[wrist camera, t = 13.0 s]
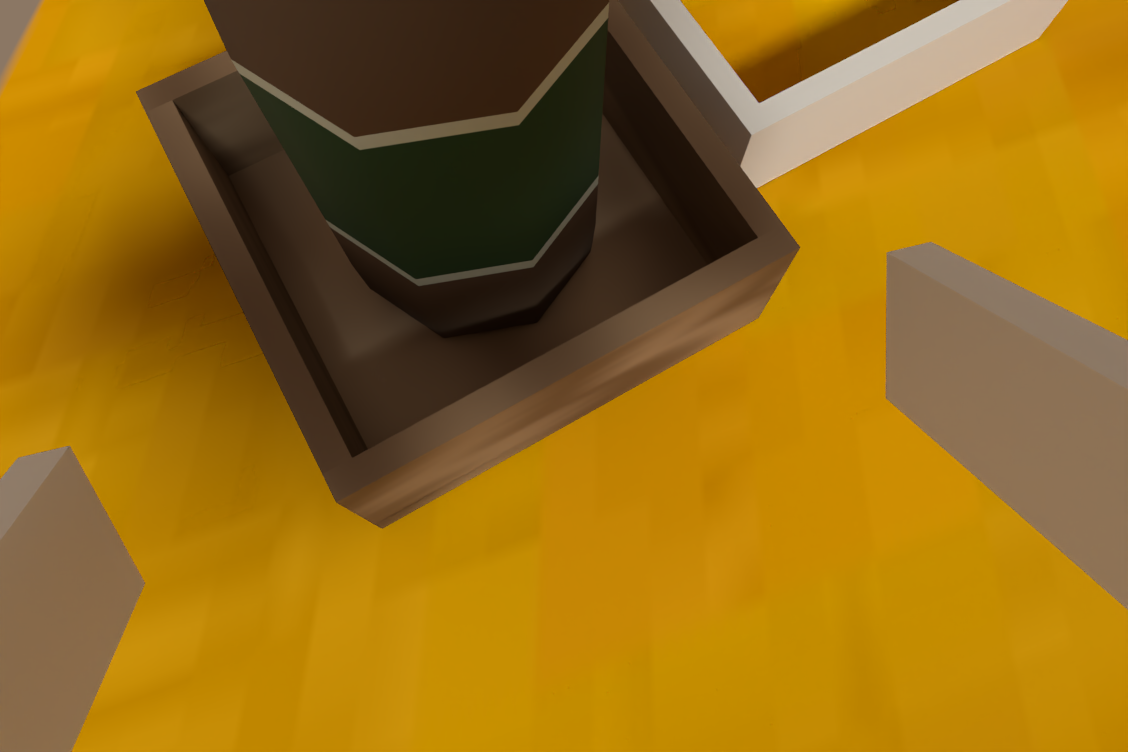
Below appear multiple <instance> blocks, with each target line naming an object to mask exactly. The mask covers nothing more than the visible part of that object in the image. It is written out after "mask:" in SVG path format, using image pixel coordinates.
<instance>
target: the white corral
mask: <svg viewBox="0 0 1128 752" xmlns="http://www.w3.org/2000/svg"><path fill="white" fill-rule="evenodd" d="M618 1H619V3H620V4H621V5H622V7H623V8H624V9H625V11H626V12H627V14H628V15H629V16H630V18H631V19H632V20H633V22H634V23H635V24H636V26H637V27H638V28H639V30H640V31H641V32H642V34H643V35H644V37H645V38H646V39H647V41H648V42H649V43H650V45H651V46H652V47H653V49H654V50H655V51H656V53H657V54H658V56H659V57H660V58H661V60H662V61H663V62H664V64H665V65H666V66H667V68H668V69H669V70H670V72H671V73H672V74H673V76H674V77H675V79H676V80H677V81H678V83H679V84H680V85H681V87H682V88H683V89H684V91H685V92H686V93H687V95H688V96H689V98H690V99H691V100H692V102H693V103H694V104H695V106H696V107H697V108H698V110H699V111H700V112H701V114H702V115H703V117H704V118H705V119H706V121H707V122H708V123H709V125H710V126H711V127H712V129H713V130H714V131H715V133H716V134H717V135H718V137H719V138H720V140H721V141H722V142H723V144H724V145H725V146H726V148H727V149H728V150H729V152H730V153H731V154H732V156H733V157H734V159H735V160H736V161H737V163H738V164H739V165H740V167H741V168H742V169H743V171H744V172H745V173H746V175H747V176H748V177H749V179H750V180H751V182H752V183H753V184H754V186H755V187H756V188H758V187H760V186H762V185H764V184H765V183H767V182H769V181H771V180H773V179H775V178H777V177H779V176H781V175H782V174H784V173H786V172H788V171H790V170H792V169H794V168H796V167H797V166H799V165H801V164H803V163H805V162H807V161H809V160H811V159H812V158H814V157H816V156H818V155H820V154H822V153H824V152H826V151H828V150H829V149H831V148H833V147H835V146H837V145H839V144H841V143H843V142H844V141H846V140H848V139H850V138H852V137H854V136H856V135H858V134H860V133H861V132H863V131H865V130H867V129H869V128H871V127H873V126H875V125H876V124H878V123H880V122H882V121H884V120H886V119H888V118H890V117H891V116H893V115H895V114H897V113H899V112H901V111H903V110H905V109H907V108H908V107H910V106H912V105H914V104H916V103H918V102H920V101H922V100H923V99H925V98H927V97H929V96H931V95H933V94H935V93H937V92H938V91H940V90H942V89H944V88H946V87H948V86H950V85H952V84H954V83H955V82H957V81H959V80H961V79H963V78H965V77H967V76H969V75H970V74H972V73H974V72H976V71H978V70H980V69H982V68H984V67H986V66H987V65H989V64H991V63H993V62H995V61H997V60H999V59H1001V58H1002V57H1004V56H1006V55H1008V54H1010V53H1012V52H1014V51H1016V50H1017V49H1019V48H1021V47H1023V46H1025V45H1027V44H1029V43H1031V42H1033V41H1034V40H1036V39H1038V38H1039V37H1040V36H1041V34H1042V33H1043V32H1044V30H1045V29H1046V28H1047V27H1048V25H1049V24H1050V23H1051V21H1052V20H1053V19H1054V18H1055V16H1056V15H1057V14H1058V13H1059V11H1060V10H1061V9H1062V7H1063V6H1064V5H1065V4H1066V2H1067V1H1068V0H959V1H957V2H956V3H954V4H952V5H950V6H948V7H946V8H944V9H942V10H940V11H938V12H936V13H934V14H932V15H930V16H928V17H926V18H924V19H922V20H920V21H919V22H917V23H915V24H913V25H911V26H909V27H907V28H905V29H903V30H901V31H899V32H897V33H895V34H893V35H891V36H889V37H887V38H885V39H883V40H881V41H880V42H878V43H876V44H874V45H872V46H870V47H868V48H866V49H864V50H862V51H860V52H858V53H856V54H854V55H852V56H850V57H848V58H846V59H844V60H843V61H841V62H839V63H837V64H835V65H833V66H831V67H829V68H827V69H825V70H823V71H821V72H819V73H817V74H815V75H813V76H811V77H809V78H807V79H806V80H804V81H802V82H800V83H798V84H796V85H794V86H792V87H790V88H788V89H786V90H784V91H782V92H780V93H778V94H776V95H774V96H772V97H770V98H769V99H767V100H765V101H763V102H761V103H758V101H757V100H756V99H755V98H754V96H753V95H752V94H751V92H750V91H749V90H748V88H747V87H746V86H745V85H744V83H743V82H742V81H741V79H740V78H739V77H738V75H737V74H736V73H735V72H734V70H733V69H732V68H731V66H730V65H729V64H728V62H727V61H726V60H725V58H724V57H723V56H722V55H721V53H720V52H719V51H718V49H717V48H716V47H715V45H714V44H713V43H712V42H711V40H710V39H709V38H708V36H707V35H706V34H705V32H704V31H703V30H702V29H701V27H700V26H699V25H698V23H697V22H696V21H695V19H694V18H693V17H692V15H691V14H690V13H689V12H688V10H687V9H686V8H685V6H684V5H683V4H682V2H681V1H680V0H618Z"/></svg>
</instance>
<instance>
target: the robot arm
mask: <svg viewBox="0 0 1128 752" xmlns="http://www.w3.org/2000/svg"><path fill="white" fill-rule="evenodd" d="M886 399H888V400H889V401H890V402H891V403H892V404H893V405H894V406H896V407H897V408H898V409H899V410H900V411H901V412H902V413H904V414H905V415H906V416H907V417H908V418H909V419H911V420H912V421H913V422H914V423H915V424H916V425H917V426H919V427H920V428H921V429H922V430H923V431H924V432H925V433H927V434H928V435H929V436H930V437H931V438H932V439H933V440H935V441H936V442H937V443H938V444H939V445H940V446H941V447H943V448H944V449H945V450H946V451H947V452H948V453H949V454H951V455H952V456H953V457H954V458H955V459H956V460H957V461H959V462H960V463H961V464H962V465H963V466H964V467H965V468H967V469H968V470H969V471H970V472H971V473H972V474H973V475H975V476H976V477H977V478H978V479H979V480H980V481H981V482H983V483H984V484H985V485H986V486H987V487H988V488H989V489H991V490H992V491H993V492H994V493H995V494H996V495H997V496H999V497H1000V498H1001V499H1002V500H1003V501H1004V502H1005V503H1007V504H1008V505H1009V506H1010V507H1011V508H1012V509H1013V510H1015V511H1016V512H1017V513H1018V514H1019V515H1020V516H1021V517H1023V518H1024V519H1025V520H1026V521H1027V522H1028V523H1029V524H1031V525H1032V526H1033V527H1034V528H1035V529H1036V530H1037V531H1039V532H1040V533H1041V534H1042V535H1043V536H1044V537H1045V538H1047V539H1048V540H1049V541H1050V542H1051V543H1052V544H1053V545H1055V546H1056V547H1057V548H1058V549H1059V550H1060V551H1061V552H1063V553H1064V554H1065V555H1066V556H1067V557H1068V558H1069V559H1071V560H1072V561H1073V562H1074V563H1075V564H1076V565H1077V566H1079V567H1080V568H1081V569H1082V570H1083V571H1084V572H1085V573H1087V574H1088V575H1089V576H1090V577H1091V578H1092V579H1093V580H1095V581H1096V582H1097V583H1098V584H1099V585H1100V586H1101V587H1103V588H1104V589H1105V590H1106V591H1107V592H1108V593H1109V594H1111V595H1112V596H1113V597H1114V598H1115V599H1116V600H1117V601H1119V602H1120V603H1121V604H1122V605H1123V606H1124V607H1125V608H1127V609H1128V340H1126V339H1124V338H1122V337H1120V336H1118V335H1116V334H1114V333H1112V332H1110V331H1108V330H1106V329H1104V328H1102V327H1100V326H1098V325H1096V324H1094V323H1092V322H1090V321H1088V320H1086V319H1084V318H1082V317H1080V316H1078V315H1076V314H1074V313H1072V312H1070V311H1068V310H1066V309H1064V308H1062V307H1060V306H1058V305H1056V304H1054V303H1052V302H1050V301H1048V300H1046V299H1044V298H1042V297H1040V296H1038V295H1036V294H1034V293H1032V292H1030V291H1028V290H1026V289H1024V288H1022V287H1020V286H1018V285H1016V284H1014V283H1012V282H1010V281H1008V280H1006V279H1004V278H1002V277H1000V276H998V275H996V274H994V273H992V272H990V271H988V270H986V269H984V268H982V267H980V266H978V265H976V264H974V263H972V262H970V261H968V260H966V259H964V258H962V257H960V256H958V255H956V254H954V253H952V252H950V251H948V250H946V249H944V248H942V247H940V246H938V245H936V244H934V243H932V242H929V243H925V244H921V245H916V246H912V247H908V248H904V249H899V250H895V251H891V252H887V308H886ZM144 584H145V582H144V580H143V579H142V577H141V575H140V573H139V571H138V569H137V568H136V566H135V564H134V562H133V560H132V559H131V557H130V555H129V553H128V551H127V549H126V548H125V546H124V544H123V542H122V540H121V538H120V537H119V535H118V533H117V531H116V529H115V528H114V526H113V524H112V522H111V520H110V518H109V517H108V515H107V513H106V511H105V509H104V507H103V506H102V504H101V502H100V500H99V498H98V497H97V495H96V493H95V491H94V489H93V487H92V486H91V484H90V482H89V480H88V478H87V476H86V475H85V473H84V471H83V469H82V467H81V466H80V464H79V462H78V460H77V458H76V456H75V455H74V453H73V451H72V449H71V447H70V446H66V447H62V448H58V449H54V450H49V451H45V452H41V453H37V454H33V455H28V456H24V457H20V458H18V459H17V460H16V461H15V462H14V463H13V465H12V466H11V467H10V468H9V470H8V471H7V472H6V473H5V474H4V476H3V477H2V478H1V479H0V752H71V751H72V749H73V746H74V744H75V742H76V740H77V737H78V735H79V733H80V730H81V728H82V726H83V724H84V721H85V719H86V717H87V714H88V712H89V710H90V708H91V705H92V703H93V701H94V698H95V696H96V694H97V692H98V689H99V687H100V685H101V683H102V680H103V678H104V676H105V673H106V671H107V669H108V667H109V664H110V662H111V660H112V657H113V655H114V653H115V651H116V648H117V646H118V644H119V641H120V639H121V637H122V635H123V632H124V630H125V628H126V625H127V623H128V621H129V619H130V616H131V614H132V612H133V609H134V607H135V605H136V603H137V600H138V598H139V596H140V594H141V591H142V589H143V587H144Z"/></svg>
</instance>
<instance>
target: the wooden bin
mask: <svg viewBox="0 0 1128 752" xmlns="http://www.w3.org/2000/svg"><path fill="white" fill-rule="evenodd" d="M136 93H137V95H138V97H139V99H140V101H141V103H142V105H143V107H144V110H145V112H146V114H147V116H148V118H149V120H150V122H151V124H152V126H153V128H154V130H155V132H156V134H157V136H158V138H159V140H160V142H161V144H162V146H163V148H164V151H165V153H166V155H167V157H168V159H169V161H170V163H171V165H172V167H173V169H174V171H175V173H176V175H177V177H178V179H179V181H180V183H181V185H182V187H183V189H184V191H185V194H186V196H187V198H188V200H189V202H190V204H191V206H192V208H193V210H194V212H195V214H196V216H197V218H198V220H199V222H200V224H201V226H202V228H203V230H204V232H205V234H206V237H207V239H208V241H209V243H210V245H211V247H212V249H213V251H214V253H215V255H216V257H217V259H218V261H219V263H220V265H221V267H222V269H223V271H224V273H225V275H226V278H227V280H228V282H229V284H230V286H231V288H232V290H233V292H234V294H235V296H236V298H237V300H238V302H239V304H240V306H241V308H242V310H243V312H244V314H245V316H246V318H247V321H248V323H249V325H250V327H251V329H252V331H253V333H254V335H255V337H256V339H257V341H258V343H259V345H260V347H261V349H262V351H263V353H264V355H265V357H266V359H267V362H268V364H269V366H270V368H271V370H272V372H273V374H274V376H275V378H276V380H277V382H278V384H279V386H280V388H281V390H282V392H283V394H284V396H285V398H286V400H287V402H288V405H289V407H290V409H291V411H292V413H293V415H294V417H295V419H296V421H297V423H298V425H299V427H300V429H301V431H302V433H303V435H304V437H305V439H306V441H307V443H308V445H309V448H310V450H311V452H312V454H313V456H314V458H315V460H316V462H317V464H318V466H319V468H320V470H321V472H322V474H323V476H324V478H325V480H326V482H327V484H328V486H329V489H330V491H331V493H332V495H333V497H334V499H335V501H336V503H338V504H340V505H342V506H343V507H345V508H347V509H349V510H350V511H352V512H354V513H356V514H357V515H359V516H361V517H363V518H364V519H366V520H368V521H370V522H371V523H373V524H375V525H377V526H378V527H380V528H384V527H386V526H388V525H389V524H391V523H393V522H395V521H397V520H398V519H400V518H402V517H404V516H405V515H407V514H409V513H411V512H413V511H414V510H416V509H418V508H420V507H421V506H423V505H425V504H427V503H429V502H430V501H432V500H434V499H436V498H438V497H439V496H441V495H443V494H445V493H446V492H448V491H450V490H452V489H454V488H455V487H457V486H459V485H461V484H463V483H464V482H466V481H468V480H470V479H471V478H473V477H475V476H477V475H479V474H480V473H482V472H484V471H486V470H488V469H489V468H491V467H493V466H495V465H496V464H498V463H500V462H502V461H504V460H505V459H507V458H509V457H511V456H513V455H514V454H516V453H518V452H520V451H521V450H523V449H525V448H527V447H529V446H530V445H532V444H534V443H536V442H538V441H539V440H541V439H543V438H545V437H546V436H548V435H550V434H552V433H554V432H555V431H557V430H559V429H561V428H563V427H564V426H566V425H568V424H570V423H571V422H573V421H575V420H577V419H579V418H580V417H582V416H584V415H586V414H588V413H589V412H591V411H593V410H595V409H596V408H598V407H600V406H602V405H604V404H605V403H607V402H609V401H611V400H613V399H614V398H616V397H618V396H620V395H621V394H623V393H625V392H627V391H629V390H630V389H632V388H634V387H636V386H638V385H639V384H641V383H643V382H645V381H646V380H648V379H650V378H652V377H654V376H655V375H657V374H659V373H661V372H663V371H664V370H666V369H668V368H670V367H671V366H673V365H675V364H677V363H679V362H680V361H682V360H684V359H686V358H688V357H689V356H691V355H693V354H695V353H696V352H698V351H700V350H702V349H704V348H705V347H707V346H709V345H711V344H713V343H714V342H716V341H718V340H720V339H721V338H723V337H725V336H727V335H729V334H730V333H732V332H734V331H736V330H738V329H739V328H741V327H743V326H745V325H746V324H748V323H750V322H752V321H754V320H755V319H757V318H759V316H760V314H761V313H762V311H763V309H764V308H765V306H766V304H767V303H768V301H769V299H770V297H771V296H772V294H773V292H774V291H775V289H776V287H777V286H778V284H779V282H780V281H781V279H782V277H783V276H784V274H785V272H786V270H787V269H788V267H789V265H790V264H791V262H792V260H793V259H794V257H795V255H796V254H797V252H798V250H799V248H800V247H799V245H798V244H797V243H796V241H795V240H794V238H793V237H792V236H791V234H790V233H789V232H788V230H787V229H786V228H785V226H784V225H783V224H782V222H781V221H780V220H779V218H778V217H777V215H776V214H775V213H774V211H773V210H772V209H771V207H770V206H769V205H768V203H767V202H766V201H765V199H764V198H763V196H762V195H761V194H760V192H759V191H758V190H757V188H756V187H755V186H754V184H753V183H752V182H751V180H750V179H749V177H748V176H747V175H746V173H745V172H744V171H743V169H742V168H741V167H740V165H739V164H738V163H737V161H736V160H735V159H734V157H733V156H732V154H731V153H730V152H729V150H728V149H727V148H726V146H725V145H724V144H723V142H722V141H721V140H720V138H719V137H718V135H717V134H716V133H715V131H714V130H713V129H712V127H711V126H710V125H709V123H708V122H707V121H706V119H705V118H704V117H703V115H702V114H701V112H700V111H699V110H698V108H697V107H696V106H695V104H694V103H693V102H692V100H691V99H690V98H689V96H688V95H687V93H686V92H685V91H684V89H683V88H682V87H681V85H680V84H679V83H678V81H677V80H676V79H675V77H674V76H673V74H672V73H671V72H670V70H669V69H668V68H667V66H666V65H665V64H664V62H663V61H662V60H661V58H660V57H659V56H658V54H657V53H656V51H655V50H654V49H653V47H652V46H651V45H650V43H649V42H648V41H647V39H646V38H645V37H644V35H643V34H642V32H641V31H640V30H639V28H638V27H637V26H636V24H635V23H634V22H633V20H632V19H631V18H630V16H629V15H628V14H627V12H626V11H625V9H624V8H623V7H622V5H621V4H620V3H619V1H618V0H609V13H608V30H607V46H606V62H605V79H604V95H603V111H602V128H601V144H600V160H599V177H598V193H597V209H596V225H595V231H594V236H593V242H592V247H591V252H590V254H589V255H588V256H587V257H586V259H585V260H584V261H583V263H582V264H581V265H580V267H579V268H578V269H577V271H576V272H575V273H574V275H573V276H572V277H571V279H570V280H569V281H568V283H567V284H566V285H565V287H564V288H563V289H562V290H561V292H560V293H559V294H558V296H557V297H556V298H555V300H554V301H553V302H552V304H551V305H550V306H549V308H548V309H547V310H546V312H545V313H544V314H543V316H542V317H541V318H540V320H539V321H538V322H537V323H531V324H525V325H519V326H513V327H507V328H501V329H495V330H489V331H483V332H478V333H472V334H466V335H460V336H454V337H448V338H442V337H441V336H440V335H438V334H437V333H435V332H434V331H432V330H431V329H429V328H428V327H426V326H425V325H423V324H422V323H420V322H419V321H417V320H416V319H414V318H413V317H411V316H410V315H408V314H407V313H405V312H404V311H402V310H401V309H399V308H398V307H396V306H395V305H394V304H392V303H391V302H389V301H388V300H386V299H385V298H383V297H382V296H380V295H379V294H377V293H376V292H374V291H373V290H371V289H370V288H369V287H368V286H367V284H366V283H365V282H364V280H363V279H362V278H361V276H360V275H359V274H358V272H357V271H356V270H355V268H354V267H353V266H352V264H351V262H350V261H349V259H348V257H347V256H346V254H345V252H344V251H343V249H342V247H341V245H340V244H339V242H338V240H337V239H336V237H335V235H334V234H333V232H332V230H331V228H330V227H329V225H328V223H327V222H326V220H325V218H324V217H323V215H322V213H321V211H320V210H319V208H318V206H317V205H316V203H315V201H314V200H313V198H312V196H311V194H310V193H309V191H308V189H307V188H306V186H305V184H304V183H303V181H302V179H301V177H300V176H299V174H298V172H297V171H296V169H295V167H294V166H293V164H292V162H291V160H290V159H289V157H288V155H287V154H286V152H285V150H284V149H283V147H282V145H281V143H280V142H279V140H278V138H277V137H276V135H275V133H274V132H273V130H272V128H271V126H270V125H269V123H268V121H267V120H266V118H265V116H264V115H263V113H262V111H261V109H260V108H259V106H258V104H257V103H256V101H255V99H254V98H253V96H252V94H251V92H250V91H249V89H248V87H247V86H246V84H245V82H244V81H243V79H242V77H241V76H240V74H239V72H238V70H237V69H236V67H235V65H234V64H233V62H232V60H231V58H230V56H229V54H228V52H227V51H225V52H223V53H221V54H218V55H216V56H214V57H212V58H209V59H207V60H205V61H203V62H201V63H198V64H196V65H194V66H192V67H189V68H187V69H185V70H183V71H181V72H178V73H176V74H174V75H172V76H169V77H167V78H165V79H163V80H161V81H158V82H156V83H154V84H152V85H149V86H147V87H145V88H143V89H140V90H138V91H136Z"/></svg>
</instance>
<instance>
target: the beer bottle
mask: <svg viewBox="0 0 1128 752" xmlns="http://www.w3.org/2000/svg"><path fill="white" fill-rule="evenodd" d="M204 2H205V4H206V6H207V8H208V11H209V13H210V15H211V17H212V19H213V21H214V24H215V26H216V28H217V30H218V32H219V34H220V37H221V39H222V41H223V43H224V45H225V48H226V50H227V52H228V54H229V56H230V58H231V60H232V62H233V64H234V65H235V67H236V69H237V70H238V72H239V74H240V76H241V77H242V79H243V81H244V82H245V84H246V86H247V87H248V89H249V91H250V92H251V94H252V96H253V98H254V99H255V101H256V103H257V104H258V106H259V108H260V109H261V111H262V113H263V115H264V116H265V118H266V120H267V121H268V123H269V125H270V126H271V128H272V130H273V132H274V133H275V135H276V137H277V138H278V140H279V142H280V143H281V145H282V147H283V149H284V150H285V152H286V154H287V155H288V157H289V159H290V160H291V162H292V164H293V166H294V167H295V169H296V171H297V172H298V174H299V176H300V177H301V179H302V181H303V183H304V184H305V186H306V188H307V189H308V191H309V193H310V194H311V196H312V198H313V200H314V201H315V203H316V205H317V206H318V208H319V210H320V211H321V213H322V215H323V217H324V218H325V220H326V222H327V223H328V225H329V227H330V228H331V230H332V232H333V234H334V235H335V237H336V239H337V240H338V242H339V244H340V245H341V247H342V249H343V251H344V252H345V254H346V256H347V257H348V259H349V261H350V262H351V264H352V266H353V267H354V268H355V270H356V271H357V272H358V274H359V275H360V276H361V278H362V279H363V280H364V282H365V283H366V284H367V286H368V287H369V288H370V289H371V290H373V291H374V292H376V293H377V294H379V295H380V296H382V297H383V298H385V299H386V300H388V301H389V302H391V303H392V304H394V305H395V306H396V307H398V308H399V309H401V310H402V311H404V312H405V313H407V314H408V315H410V316H411V317H413V318H414V319H416V320H417V321H419V322H420V323H422V324H423V325H425V326H426V327H428V328H429V329H431V330H432V331H434V332H435V333H437V334H438V335H440V336H441V337H442V338H448V337H454V336H460V335H466V334H472V333H478V332H483V331H489V330H495V329H501V328H507V327H513V326H519V325H525V324H531V323H537V322H538V321H539V320H540V318H541V317H542V316H543V314H544V313H545V312H546V310H547V309H548V308H549V306H550V305H551V304H552V302H553V301H554V300H555V298H556V297H557V296H558V294H559V293H560V292H561V290H562V289H563V288H564V287H565V285H566V284H567V283H568V281H569V280H570V279H571V277H572V276H573V275H574V273H575V272H576V271H577V269H578V268H579V267H580V265H581V264H582V263H583V261H584V260H585V259H586V257H587V256H588V255H589V254H590V252H591V247H592V242H593V236H594V231H595V225H596V209H597V193H598V177H599V160H600V144H601V128H602V111H603V95H604V79H605V62H606V46H607V30H608V13H609V0H204Z"/></svg>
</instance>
